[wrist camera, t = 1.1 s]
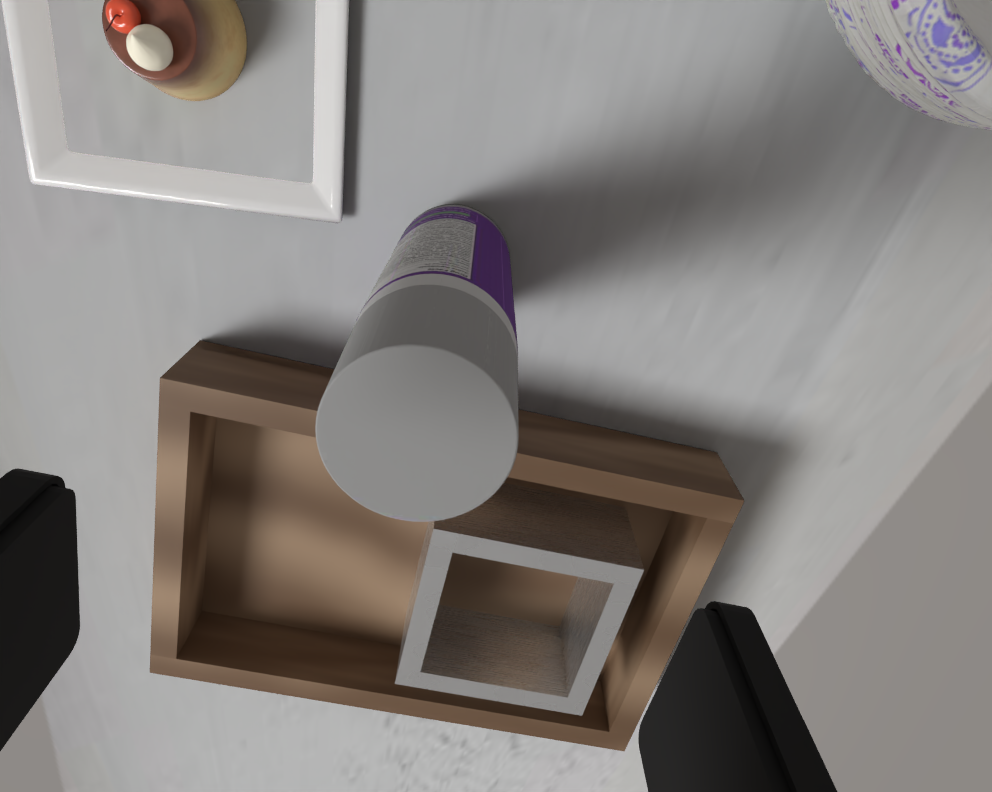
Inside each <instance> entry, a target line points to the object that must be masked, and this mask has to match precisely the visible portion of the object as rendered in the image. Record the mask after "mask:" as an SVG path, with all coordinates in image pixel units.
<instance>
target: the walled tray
mask: <svg viewBox="0 0 992 792" xmlns="http://www.w3.org/2000/svg"><path fill="white" fill-rule="evenodd" d="M334 370H335V369H330V368H326V367H321V366H317V365H312V364H307V363H303V362H298V361H293V360H289V359H284V358H280V357H275V356H270V355H266V354H261V353H257V352H252V351H247V350H243V349H238V348H234V347H229V346H224V345H220V344H215V343H211V342H206V341H201V340H200V341H199V342H198V343H197V344H196V345H195V346H194V347H192V348H191V349H190V350H189V351H188V352H187V353H186V354H185V355H184V356H183V357H182V358H181V359H180V360H179V361H178V362H176V363H175V364H174V365H173V366H172V367H171V368H170V369H169V370H168V371H167V372H166V373H165V374H164V375H163V376H162V377H160V392H159V421H158V450H157V479H156V508H155V537H154V566H153V595H152V624H151V653H150V673H156V674H162V675H168V676H174V677H180V678H186V679H192V680H198V681H204V682H210V683H216V684H222V685H228V686H234V687H240V688H246V689H252V690H258V691H264V692H270V693H276V694H282V695H289V696H295V697H301V698H307V699H313V700H319V701H325V702H331V703H337V704H343V705H349V706H355V707H361V708H367V709H373V710H379V711H385V712H391V713H397V714H403V715H409V716H415V717H421V718H427V719H433V720H439V721H445V722H451V723H457V724H463V725H469V726H475V727H481V728H487V729H493V730H499V731H505V732H512V733H518V734H524V735H530V736H536V737H542V738H548V739H554V740H560V741H566V742H572V743H578V744H584V745H590V746H596V747H602V748H608V749H614V750H620V751H625V749H626V747H627V745H628V742H629V740H630V738H631V736H632V734H633V732H634V730H635V728H636V726H637V724H638V722H639V720H640V717H641V715H642V713H643V711H644V709H645V707H646V705H647V703H648V701H649V699H650V697H651V695H652V692H653V690H654V688H655V686H656V684H657V682H658V680H659V678H660V676H661V674H662V672H663V670H664V667H665V665H666V663H667V661H668V659H669V657H670V655H671V653H672V651H673V649H674V647H675V645H676V642H677V640H678V638H679V636H680V634H681V632H682V630H683V628H684V626H685V624H686V622H687V620H688V617H689V615H690V613H691V611H692V609H693V607H694V605H695V603H696V601H697V599H698V597H699V595H700V593H701V590H702V588H703V586H704V584H705V582H706V580H707V578H708V576H709V574H710V572H711V570H712V568H713V565H714V563H715V561H716V559H717V557H718V555H719V553H720V551H721V549H722V547H723V545H724V543H725V540H726V538H727V536H728V534H729V532H730V530H731V528H732V526H733V524H734V522H735V520H736V518H737V515H738V513H739V511H740V509H741V507H742V505H743V503H744V499H743V497H742V496H741V494H740V492H739V490H738V489H737V487H736V485H735V483H734V482H733V480H732V478H731V476H730V475H729V473H728V471H727V469H726V468H725V466H724V464H723V462H722V461H721V459H720V457H719V456H718V454H717V452H713V451H708V450H703V449H699V448H694V447H689V446H685V445H680V444H676V443H671V442H666V441H662V440H657V439H653V438H648V437H643V436H639V435H634V434H630V433H625V432H620V431H616V430H611V429H607V428H602V427H597V426H593V425H588V424H584V423H579V422H574V421H570V420H565V419H561V418H556V417H551V416H547V415H542V414H538V413H533V412H528V411H524V410H519V409H518V426H519V441H518V450H517V455H516V459H515V462H514V465H513V467H512V469H511V471H510V473H509V475H508V477H507V478H506V480H505V482H504V483H508V484H513V485H518V486H523V487H528V488H533V489H538V490H543V491H547V492H552V493H557V494H562V495H567V496H572V497H577V498H582V499H586V500H591V501H596V502H601V503H606V504H611V505H616V506H621V507H625V508H626V510H627V514H628V517H629V520H630V524H631V527H632V530H633V534H634V537H635V541H636V544H637V547H638V551H639V554H640V557H641V561H642V564H643V567H644V572H643V574H642V576H641V579H640V581H639V583H638V586H637V588H636V590H635V593H634V595H633V597H632V600H631V602H630V604H629V607H628V609H627V611H626V614H625V616H624V618H623V621H622V623H621V626H620V628H619V630H618V633H617V635H616V637H615V640H614V642H613V644H612V647H611V649H610V651H609V654H608V656H607V658H606V661H605V663H604V665H603V668H602V670H601V672H600V675H599V677H598V679H597V682H596V684H595V686H594V689H593V691H592V694H591V696H590V698H589V701H588V703H587V705H586V708H585V710H584V712H583V715H582V716H581V715H575V714H569V713H563V712H557V711H551V710H545V709H540V708H534V707H528V706H522V705H516V704H510V703H504V702H499V701H493V700H487V699H481V698H475V697H469V696H463V695H457V694H452V693H446V692H440V691H434V690H428V689H422V688H416V687H411V686H405V685H399V684H395V679H396V673H397V667H398V660H399V654H400V648H401V642H402V635H403V629H404V623H405V617H406V612H407V607H408V603H409V599H410V595H411V591H412V587H413V583H414V579H415V575H416V571H417V567H418V563H419V558H420V554H421V550H422V546H423V542H424V538H425V534H426V530H427V526H428V522H412V521H405V520H399V519H394V518H390V517H387V516H384V515H381V514H379V513H376V512H374V511H372V510H370V509H368V508H366V507H364V506H362V505H361V504H359V503H358V502H356V501H355V500H353V499H352V498H351V497H350V496H349V495H347V494H346V493H345V492H344V491H343V490H342V489H341V488H340V487H339V486H338V485H337V484H336V482H335V481H334V480H333V479H332V477H331V476H330V474H329V473H328V471H327V469H326V467H325V466H324V464H323V461H322V459H321V456H320V454H319V450H318V446H317V441H316V432H315V425H316V416H317V411H318V407H319V404H320V401H321V399H322V396H323V394H324V392H325V390H326V387H327V385H328V383H329V381H330V379H331V376H332V374H333V372H334ZM577 579H578V577H577V576H572V575H566V574H561V573H556V572H551V571H546V570H540V569H535V568H530V567H525V566H520V565H515V564H509V563H504V562H499V561H494V560H489V559H483V558H478V557H473V556H468V555H463V554H457V553H452V556H451V560H450V564H449V567H448V571H447V575H446V578H445V582H444V586H443V590H442V593H441V597H440V601H439V605H445V606H450V607H456V608H461V609H466V610H472V611H477V612H483V613H488V614H494V615H499V616H504V617H510V618H515V619H521V620H526V621H532V622H537V623H542V624H548V625H553V626H560V624H561V621H562V618H563V616H564V613H565V610H566V608H567V605H568V602H569V600H570V597H571V595H572V592H573V589H574V587H575V584H576V581H577Z"/></svg>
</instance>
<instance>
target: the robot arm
mask: <svg viewBox="0 0 992 792" xmlns="http://www.w3.org/2000/svg"><path fill="white" fill-rule="evenodd" d="M79 630H80V615H79V585H78V555H77V525H76V498H75V493H74V491H73V490H71V489H67V488H65V483H64V481H63V479H62V478H61V477H59V476H55V475H49V474H44V473H39V472H34V471H28V470H23V469H13V470H11V471H10V472H8V473H6V474H5V475H4V476H3V477H2V478H0V751H1V750H2V748H3V747H4V745H5V744H6V742H7V741H8V740H9V738H10V737H11V736H12V734H13V733H14V731H15V730H16V728H17V727H18V726H19V724H20V723H21V722H22V720H23V719H24V717H25V716H26V715H27V713H28V712H29V710H30V709H31V708H32V706H33V705H34V704H35V702H36V701H37V699H38V698H39V697H40V695H41V694H42V692H43V691H44V690H45V688H46V687H47V685H48V684H49V683H50V681H51V680H52V678H53V677H54V676H55V674H56V673H57V671H58V670H59V669H60V667H61V666H62V664H63V663H64V662H65V660H66V659H67V658H68V656H69V655H70V653H71V651H72V650H73V648H74V646H75V644H76V641H77V638H78V635H79ZM639 749H640V754H641V758H642V763H643V768H644V773H645V778H646V782H647V787H648V792H837V790H836V788H835V786H834V784H833V782H832V779H831V778H830V775H829V773H828V771H827V769H826V767H825V765H824V762H823V760H822V758H821V756H820V754H819V752H818V750H817V747H816V745H815V743H814V741H813V739H812V737H811V735H810V732H809V730H808V728H807V726H806V724H805V722H804V720H803V718H802V716H801V714H800V712H799V710H798V707H797V705H796V703H795V701H794V699H793V697H792V695H791V692H790V690H789V688H788V686H787V684H786V682H785V680H784V677H783V675H782V673H781V671H780V669H779V667H778V665H777V662H776V660H775V658H774V656H773V654H772V652H771V650H770V647H769V645H768V643H767V641H766V639H765V637H764V635H763V632H762V630H761V628H760V626H759V624H758V622H757V620H756V617H755V615H754V614H753V612H752V611H751V610H750V609H749V608H747V607H742V606H736V605H731V604H726V603H721V602H716V601H714V602H710V603H709V604H708V605H707V606H706V608H705V609H701V608H700V609H697V610H696V611H695V612H694V614H693V616H692V618H691V620H690V622H689V624H688V626H687V628H686V630H685V633H684V635H683V637H682V639H681V641H680V643H679V645H678V647H677V649H676V651H675V653H674V655H673V657H672V659H671V662H670V664H669V666H668V668H667V670H666V672H665V674H664V676H663V678H662V680H661V682H660V684H659V686H658V688H657V691H656V693H655V695H654V697H653V699H652V701H651V703H650V705H649V707H648V709H647V711H646V713H645V715H644V717H643V720H642V722H641V725H640V729H639Z"/></svg>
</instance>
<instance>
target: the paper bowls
mask: <svg viewBox="0 0 992 792" xmlns="http://www.w3.org/2000/svg"><path fill="white" fill-rule="evenodd" d="M826 3H827V7H828V11H829V13H830V16H831V18H832V19H833V20H834V21H835V24H836V30H837V31H838V32H839V33H840V34H841V35H842V36H843V38H844V40H845V44H846V45H847V47H848V48H849V50H850V51H851V53H852V54H853V56H854V57H855V59H856V60H857V62H858V63H859V64H860V66H861V67H862V68H863V69H864V71H865V73H866V74H867V75H868V76H870V77H871V78H872V79H874V80H875V82H876V83H877V84H878V85H879V86H880V87H881V88H883V89H885V90H886V91H887V92H888V93H889V94H890V95H891V96H892V97H894V98H895V99H897V100H898V101H900V102H902V103H903V104H905V105H906V106H908V107H909V108H911V109H913V110H916V111H918V112H921V113H922V114H926V115H928V116H930V117H933V118H935V119H936V120H943V121H944V122H950V123H953V124H957V125H962V126H966V127H972V128H981V129H988V130H992V0H826Z"/></svg>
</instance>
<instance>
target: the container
mask: <svg viewBox="0 0 992 792" xmlns="http://www.w3.org/2000/svg"><path fill="white" fill-rule="evenodd" d="M315 432H316V441H317V446H318V450H319V454H320V456H321V459H322V461H323V464H324V466H325V467H326V469H327V471H328V473H329V474H330V476H331V477H332V479H333V480H334V481H335V482H336V484H337V485H338V486H339V487H340V488H341V489H342V490H343V491H344V492H345V493H346V494H347V495H349V496H350V497H351V498H352V499H353V500H355V501H356V502H358V503H359V504H361V505H362V506H364V507H366V508H368V509H370V510H372V511H374V512H376V513H379V514H381V515H384V516H387V517H390V518H394V519H399V520H405V521H412V522H430V521H439V520H445V519H449V518H453V517H456V516H459V515H462V514H464V513H466V512H469V511H471V510H473V509H475V508H476V507H478V506H479V505H481V504H482V503H484V502H485V501H486V500H488V499H489V498H490V497H491V496H492V495H493V494H495V492H496V491H497V490H498V489H499V488H500V487H501V486H502V484H503V483H504V482H505V480H506V478H507V477H508V475H509V473H510V471H511V469H512V467H513V465H514V462H515V459H516V455H517V450H518V441H519V426H518V347H517V335H516V323H515V312H514V300H513V288H512V277H511V265H510V256H509V250H508V246H507V243H506V241H505V238H504V236H503V234H502V233H501V231H500V229H499V228H498V227H497V226H496V224H495V223H494V222H493V221H492V220H491V219H489V218H488V217H487V216H485V215H484V214H483V213H481V212H479V211H477V210H475V209H472V208H469V207H466V206H461V205H443V206H438V207H435V208H432V209H430V210H427V211H426V212H424V213H422V214H421V215H419V216H418V217H417V218H416V219H414V221H413V222H412V223H411V224H410V225H409V226H408V227H407V229H406V230H405V232H404V234H403V235H402V237H401V239H400V241H399V242H398V244H397V246H396V248H395V250H394V252H393V253H392V255H391V257H390V259H389V261H388V263H387V264H386V266H385V268H384V270H383V272H382V274H381V276H380V277H379V279H378V281H377V283H376V285H375V287H374V288H373V290H372V292H371V294H370V296H369V298H368V299H367V301H366V303H365V305H364V307H363V309H362V310H361V312H360V314H359V316H358V318H357V321H356V323H355V325H354V328H353V330H352V332H351V334H350V337H349V339H348V341H347V343H346V345H345V348H344V350H343V352H342V354H341V356H340V359H339V361H338V363H337V365H336V368H335V370H334V372H333V374H332V376H331V379H330V381H329V383H328V385H327V387H326V390H325V392H324V394H323V396H322V399H321V401H320V404H319V407H318V411H317V416H316V425H315Z"/></svg>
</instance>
